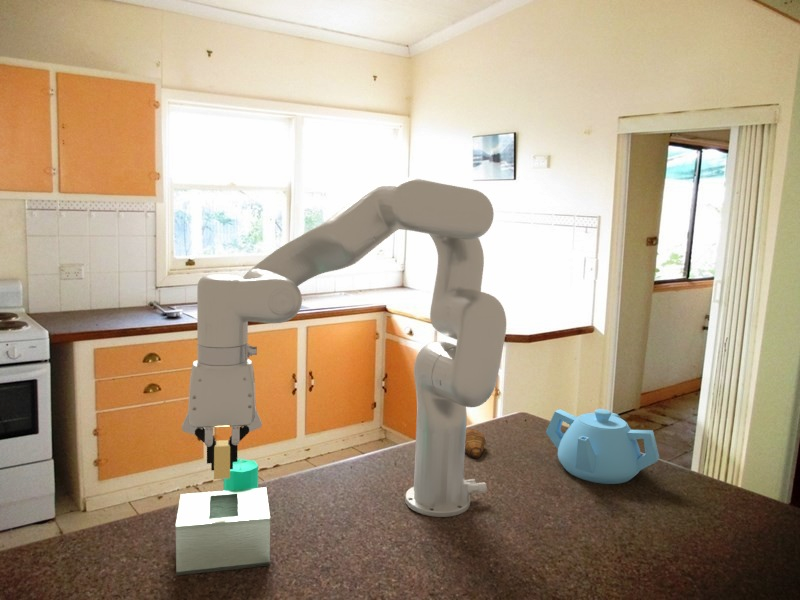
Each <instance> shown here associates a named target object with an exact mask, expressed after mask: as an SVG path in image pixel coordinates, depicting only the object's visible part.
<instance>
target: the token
mask: <svg viewBox="0 0 800 600" xmlns="http://www.w3.org/2000/svg"><path fill="white" fill-rule="evenodd" d="M228 440H229V439H224V440H215V441H216V445H215V446H214V470H213V480H223V479H227V478H230V445H228Z"/></svg>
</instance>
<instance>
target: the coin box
mask: <svg viewBox="0 0 800 600" xmlns="http://www.w3.org/2000/svg"><path fill="white" fill-rule="evenodd" d="M178 503H179V504H178V509H177V514H176V521H175V561H176V562H175V563H176V565H175V567H176V568H175V571H176V576H184V575H195V574H196V575H197V574H204V573H212V572H221V571H222V572H224V571H231V570H238V569H239V570H240V569H249V568H250V569H251V568H258V567H267V566H268V567H269V566H270V565H271V515H270V506H269V498H268V491H267V486H266V487H265V486H264V487H258V488H252V489H239V490H227V491H224V490H216V491H214V490H213V491H204V492H203V491H202V492H191V493H180V497H179V502H178Z"/></svg>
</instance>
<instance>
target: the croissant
mask: <svg viewBox="0 0 800 600" xmlns="http://www.w3.org/2000/svg"><path fill="white" fill-rule="evenodd" d="M486 443H487V441H486V438H485V436H484V434H483V432H481V431H478V430H475V429H473V428H471V429H466V439H465V453H466V454H467V455H468V456H470V457H471V458H474V459H479V458H480V457H481V455H482V453H483V452H484V450H485V446H486Z"/></svg>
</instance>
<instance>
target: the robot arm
mask: <svg viewBox="0 0 800 600" xmlns="http://www.w3.org/2000/svg"><path fill="white" fill-rule="evenodd" d="M494 216H495V215H494V208H493V204H492V203H491V200H490V199H489V198H488V197H487V195H485V194H484V193H483V192H481V191H479V190H477V189H474V188H468V187H463V186H456V185H452V184H451V185H450V184H445V183H440V182H435V181H430V180H425V179H421V178H413V177H399V178H398V177H397V178H393V177H389V178H386V179H382V180H380V181H378V182H376V183H375V184H373V185H372V186H370V187H369V188H367V189H366V190H365V191H364V192H362V193H361V194H360V195H358V196H357V197H356V198H355V199H353V200H351V202H349V203H348V204H347V205H346V206H344V207H343V208H341V209H340V210H339V211H337V212H336V213H335V214H334V215H332V216H331V217H329V218H328V219H327V220H325V221H323V222H322V223H321V224H320V225H318V226H316V227H314V228H311V229H310V230H307V232H305V233H303V234H302V235H299V236H298V237H297V238H294V239H293V240H290V241H289V242H286V243H285V244H283V245H281V246H280V247H278V248H277V249H275V250H274V251H273V252H271V253H270V254H269V255H268V256H266V257H264V258H263V259H262V260H261V261H260V262H258V263H257V264H256V265H254V266H253V267H252V268H251V269H249V270H248V271H247V272H246V273H245V274H244V276H240V275H235V274H228V273H227V274H225V273H224V274H223V273H221V274H220V273H219V274H208V275H204V276H202V277H201V278H200V279H199V280H198V282H197V293H196V294H197V300H196V301H197V303H196V304H197V307H196V308H197V313H196V314H197V327H196V328H197V329H196V330H197V331H196V332H197V337H196V340H197V353H196V354H197V356H196V357H197V358H196V360H194V361H193V362H192V365H191V369H190V370H191V371H190V375H189V376H190V377H189V378H190V379H189V389H188V408H187V409H188V410H187V413H186V415H185V418H184V420H183V422H182V425H181V431H182V432H185V433H188V434H190V435H194V436H196V437H197V439H199V440H200V441H202V443H204V446H206V464H210V465H211V466H210V467H211V468H210V469H211V471H214V446H215V445H216V441H217V440H216V437H215V436H214V428H225V427H226V428H227V427H231V436H229V439H227V440H228V445H230V469H233V462H237V459H238V446H239V444H240V442H241V441H242V440H243V439H244V438H245V437H246V436H247V435H248V434H249V433H252V432H253V431H256V430H259V429H261V427H262V426H263V423H262V420H261V418H260V415H259V413H258V411H257V408H256V384H255V383H256V382H255V372H254V365H253V361H252V360H251V359H248V358H250V357H252V356H257V355H258V354H257V353H258V346H252V345H250V344H249V343H248V335H249V333H248V332H249V331H248V328H249V323H248V322H251V323H252V322H253V323H254V322H255V323H263V324H264V323H265V324H267V323H268V324H282V323H285V322H288V321H291V320H292V319H293V318H295V317H296V316H297V315H298V313H299V312H300V310H301V308H302V304H303V297H302V293H301V289H300V288H299V286H300V285H302V284H303V283H306V282H307V281H309V280H311V279H312V278H314V277H317V276H319V275H321V274H322V275H323V274H325V273H329V272H334V271H338V270H343V269H345V268H348V267H351V266H353V265H355V264H357V263H358V262H359V261H360V260H361V259H363V258H364V257H365V256H366V255H368V254H369V253H370V252H371V251H373V250H374V249H375V248H376V247H378V246H379V245H380V244H382V243H383V242H384V241H385V240H386V239H388V238H389V237H390V236H392V235H393V234H394V233H395V232H397V231H399V230H404V231H410V232H417V233H424V234H427V235H429V236H430V238H431V239H432V241H433V244H434V246H435V248H436V252H437V266H436V267H437V268H436V269H437V270H436V277H435V282H434V287H433V288H434V289H433V294H432V300H431V305H430V313H429V315H430V316H429V318H430V320H429V321H430V323H431V325H432V327H433V328H434V329H435V330H436V332H438V333H440V334H442V335H444V336H446V337H449V338H452V339H454V340H456V344H453V343H450V342H446V341H433V342H430V343H428V344H426V345H425V346H423V347H422V348H421V349H420V350H419V352H418V353H417V354H416V356H415V359H414V360H415V361H414V364H413V377H414V384H415V391H416V392H415V393H416V425H415V427H416V428H415V445H414V446H415V450H414V451H415V452H414V471H413V473H414V475H413V486H411V487H410V488H409V489H408V490H407V491H406V492H405V497H404V498H405V503H406V505H407V507H408V508H409V509H411V510H412V511H414V512H416V513H418V514H420V515H424V516H427V517H434V518H447V517H448V518H449V517H455V516H458V515H461V514H463V513H465V512H466V511H467V510H468V509H469V508H470V507H471V498H470V496H472V494H483V493H487V491H488V487H487V483H486V482H485V481H483V482H476V479H475V478H468V479H465V477H464V476H465V475H464V474H465V473H464V471H465V457H466V456H465V453H466V451H465V439H466V430H467V421H468V420H467V418H468V417H467V408H476V407H480V406H482V405H483V404H485V403H486V402H487V401H488V400H490V399H489V398H491V396H492V394H493V393H494V391H495V388H496V385H497V381H498V377H499V373H500V367H501V362H502V361H501V360H502V357H503V356H502V355H503V350H504V345H505V338H506V332H507V316H506V311H505V308H504V307H503V305H502V303H501V302H500V300H499V299H497V298H496V297H495V296H493V295H492V294H490V293H486V292H484V291H483V292H482V283H483V275H484V266H485V265H484V262H485V260H484V259H485V256H484V250H483V246H482V243H481V241H480V238H481V237H482V236H484V235H485V234H486V233H488V231H489V230H490V228H491V226H492V224H493V221H494Z"/></svg>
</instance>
